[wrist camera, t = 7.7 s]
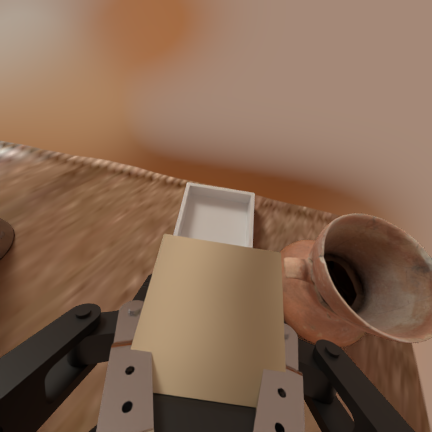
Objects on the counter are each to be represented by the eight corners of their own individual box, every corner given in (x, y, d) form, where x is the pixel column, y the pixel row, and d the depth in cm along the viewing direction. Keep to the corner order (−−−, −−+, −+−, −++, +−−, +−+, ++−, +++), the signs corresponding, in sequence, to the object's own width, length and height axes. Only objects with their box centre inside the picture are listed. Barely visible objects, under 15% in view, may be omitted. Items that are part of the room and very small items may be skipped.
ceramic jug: (255, 338, 27) (309, 348, 15) (256, 241, 35) (292, 193, 22) (380, 352, 28) (527, 373, 16) (354, 255, 35) (443, 216, 23)
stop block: (164, 353, 14) (119, 387, 6) (179, 283, 17) (164, 233, 8) (232, 363, 14) (287, 412, 6) (237, 292, 17) (281, 252, 8)
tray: (172, 253, 32) (170, 245, 29) (187, 193, 38) (187, 182, 35) (246, 265, 32) (252, 258, 29) (249, 203, 39) (254, 193, 36)
